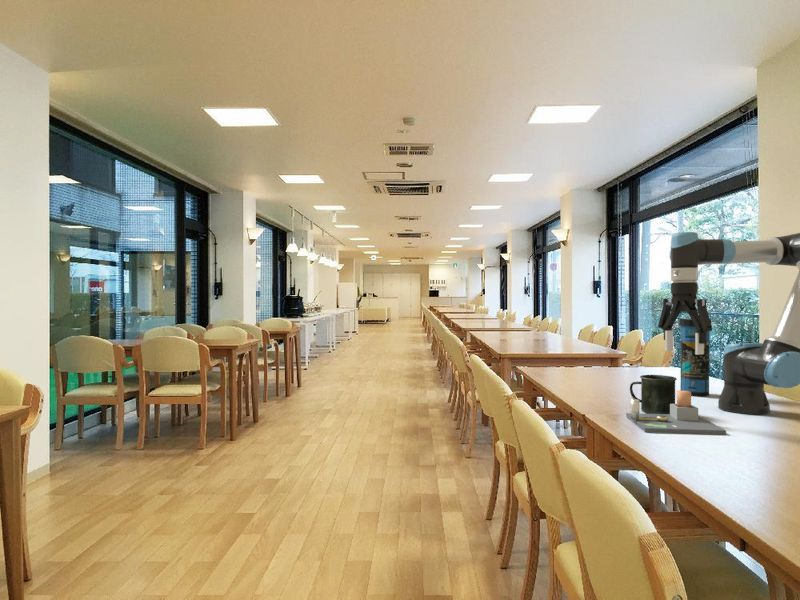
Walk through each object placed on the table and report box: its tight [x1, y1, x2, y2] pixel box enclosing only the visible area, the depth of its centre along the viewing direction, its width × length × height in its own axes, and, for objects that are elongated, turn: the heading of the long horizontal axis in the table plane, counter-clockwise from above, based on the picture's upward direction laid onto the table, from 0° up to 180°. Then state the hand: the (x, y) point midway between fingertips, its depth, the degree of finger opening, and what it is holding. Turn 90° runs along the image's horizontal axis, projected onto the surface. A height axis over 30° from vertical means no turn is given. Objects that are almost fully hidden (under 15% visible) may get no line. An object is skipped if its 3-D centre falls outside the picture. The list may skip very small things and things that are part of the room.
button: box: [676, 390, 692, 408], centre depth 172 cm, size 4×4×5 cm
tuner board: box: [625, 403, 727, 436], centre depth 168 cm, size 22×20×5 cm
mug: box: [629, 374, 677, 414], centre depth 187 cm, size 11×15×12 cm
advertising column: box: [678, 317, 712, 398], centre depth 219 cm, size 11×11×30 cm
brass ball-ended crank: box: [630, 398, 668, 421], centre depth 169 cm, size 11×3×6 cm, turn 82°
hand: (683, 352), depth 172 cm, fingers open, 10 cm apart
